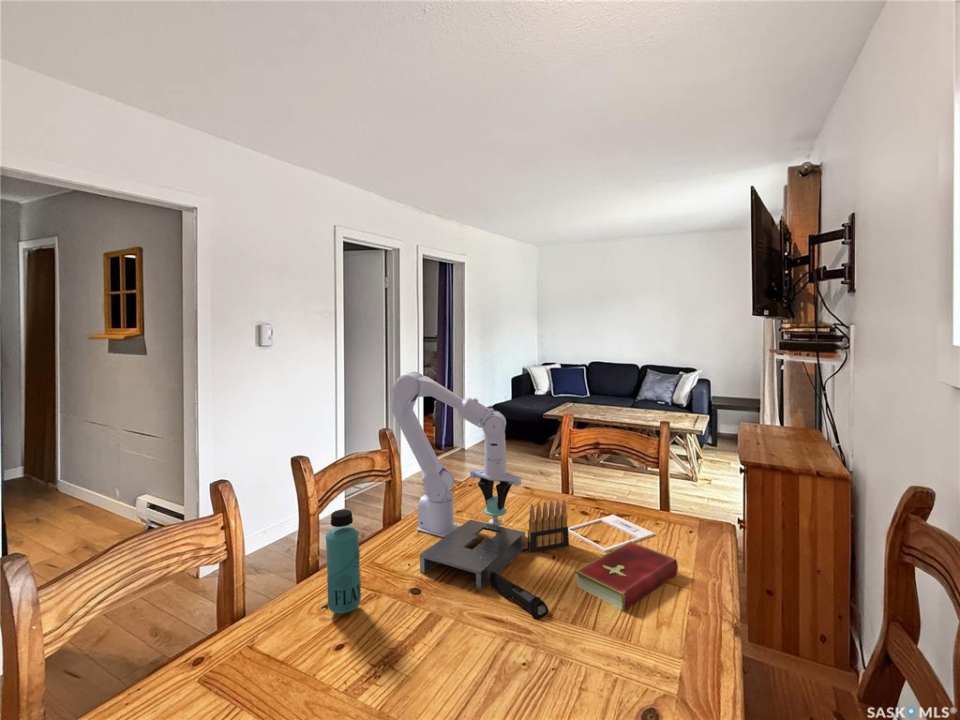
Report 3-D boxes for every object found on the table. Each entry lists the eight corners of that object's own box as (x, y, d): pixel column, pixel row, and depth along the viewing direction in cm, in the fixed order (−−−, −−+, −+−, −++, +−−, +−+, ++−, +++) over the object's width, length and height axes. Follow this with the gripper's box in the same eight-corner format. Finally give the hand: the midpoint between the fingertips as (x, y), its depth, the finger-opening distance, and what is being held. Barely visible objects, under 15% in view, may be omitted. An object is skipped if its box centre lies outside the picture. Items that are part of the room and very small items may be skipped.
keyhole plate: (420, 572, 107) (419, 554, 107) (470, 534, 126) (470, 519, 126) (481, 591, 99) (480, 572, 99) (525, 548, 118) (524, 532, 118)
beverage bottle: (330, 625, 88) (327, 521, 87) (324, 607, 94) (321, 509, 93) (365, 615, 91) (362, 514, 90) (357, 598, 97) (354, 503, 96)
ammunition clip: (565, 543, 121) (565, 497, 120) (569, 546, 119) (569, 499, 118) (527, 549, 117) (527, 502, 116) (530, 553, 116) (530, 505, 115)
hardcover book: (677, 576, 105) (678, 558, 105) (623, 614, 91) (623, 593, 91) (630, 556, 114) (630, 539, 114) (574, 588, 101) (574, 569, 100)
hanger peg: (480, 525, 127) (480, 500, 126) (491, 517, 132) (490, 493, 131) (500, 529, 124) (499, 504, 123) (510, 521, 129) (510, 497, 128)
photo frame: (654, 532, 125) (604, 549, 116) (654, 536, 125) (604, 553, 116) (613, 514, 137) (565, 528, 128) (613, 517, 137) (565, 532, 128)
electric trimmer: (499, 581, 104) (498, 567, 103) (550, 614, 91) (549, 598, 91) (485, 587, 101) (485, 573, 101) (536, 622, 89) (535, 606, 89)
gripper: (526, 457, 126) (526, 507, 127) (479, 450, 134) (479, 497, 135) (514, 464, 120) (514, 516, 121) (466, 457, 127) (466, 506, 128)
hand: (495, 507), depth 127 cm, fingers closed on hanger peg, 3 cm apart
